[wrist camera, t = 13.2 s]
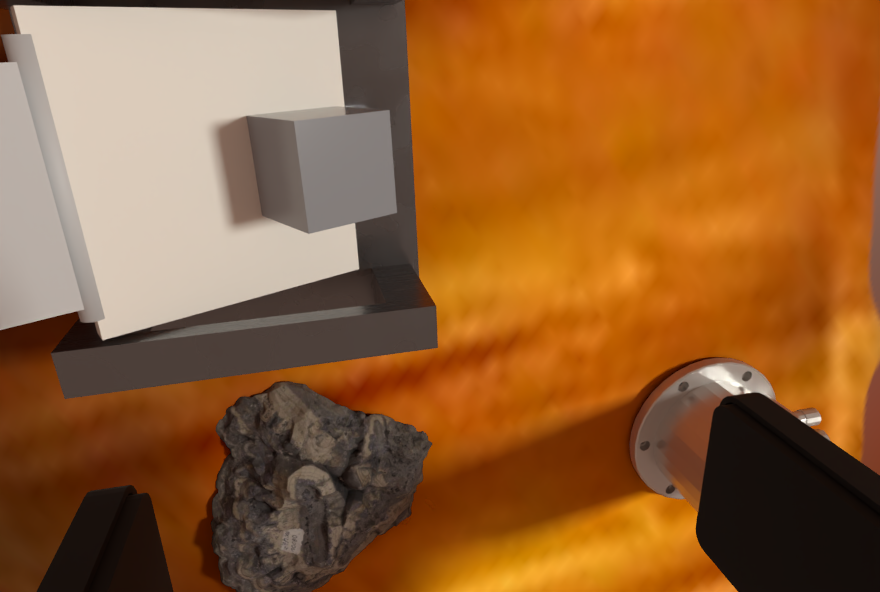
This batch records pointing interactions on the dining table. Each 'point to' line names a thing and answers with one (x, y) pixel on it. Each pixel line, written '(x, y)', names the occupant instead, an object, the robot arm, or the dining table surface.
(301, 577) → the grey fossil rock
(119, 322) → the trapdoor
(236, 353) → the trapdoor frame
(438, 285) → the dining table surface
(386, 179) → the slate block
